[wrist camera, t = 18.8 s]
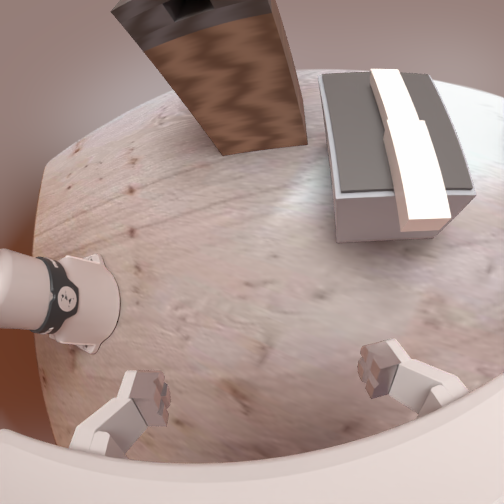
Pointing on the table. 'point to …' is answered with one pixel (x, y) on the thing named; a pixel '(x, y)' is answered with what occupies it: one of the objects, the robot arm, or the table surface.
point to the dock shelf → (382, 156)
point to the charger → (410, 156)
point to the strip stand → (224, 67)
